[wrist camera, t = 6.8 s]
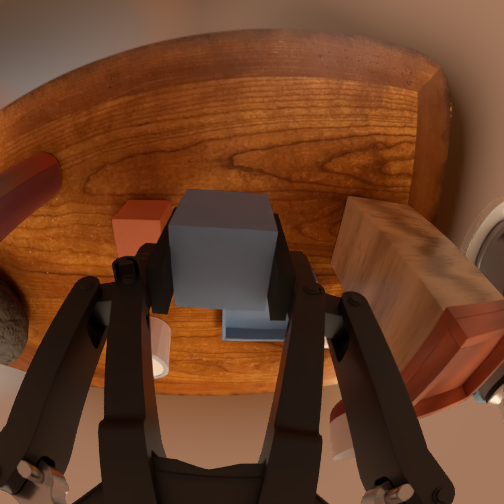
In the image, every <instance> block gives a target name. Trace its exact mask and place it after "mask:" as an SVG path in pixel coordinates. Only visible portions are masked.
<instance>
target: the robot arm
mask: <svg viewBox="0 0 504 504" xmlns="http://www.w3.org/2000/svg"><path fill="white" fill-rule="evenodd" d="M176 209H177V207H175V208H174V210H173V212H172V214H171V216H170V218H169V220H168V221H167V223H166V225H165V227H164V229H163V231H162V233H161V235H160V237H159V239H158V241H157V243H145V244H144V245H142V246H141V247H140V248H139V249H138V251H137V254H136V255H135V257H134V256H123V257H120V258H118V259H116V260H115V261H114V262H113V264H112V268H113V273H114V277H115V282H111V283H104V284H100V282H99V279H98V278H96V277H93V276H87V277H83V278H81V279H80V280H78V281H77V282H76V283H75V285H74V287H73V288H72V290H71V291H70V293H69V294H68V296H67V298H66V299H65V301H64V303H63V304H62V306H61V308H60V309H59V311H58V313H57V314H56V316H55V318H54V320H53V321H52V323H51V325H50V327H49V329H48V330H47V332H46V334H45V336H44V338H43V340H42V342H41V344H40V346H39V348H38V350H37V352H36V354H35V356H34V358H33V360H32V362H31V364H30V366H29V368H28V370H27V373H26V375H25V377H24V380H23V382H22V384H21V386H20V389H19V391H18V394H17V396H16V399H15V401H14V404H13V407H12V409H11V412H10V415H9V418H8V421H7V424H6V426H5V427H4V428H3V429H2V431H1V432H0V489H1V490H3V491H5V492H8V493H9V494H11V495H12V496H13V497H14V498H15V499H16V500H17V501H18V502H19V503H20V504H66V501H65V494H66V493H68V491H69V486H68V484H67V482H66V479H65V477H64V476H63V475H64V473H65V471H66V468H67V466H68V463H69V460H70V457H71V453H72V450H73V445H74V441H75V437H76V433H77V428H78V425H79V421H80V417H81V414H82V410H83V406H84V403H85V400H86V397H87V393H88V390H89V387H90V384H91V381H92V378H93V375H94V372H95V369H96V366H97V363H98V361H99V358H100V355H101V352H102V350H103V347H104V344H105V342H106V339H107V349H106V363H105V385H104V419H103V420H102V421H100V423H99V428H98V438H99V455H100V467H101V476H102V482H101V483H99V484H98V485H97V486H95V487H94V488H93V489H91V490H90V491H89V492H87V493H86V494H85V495H83V496H82V497H81V498H79V499H78V500H76V501H75V502H74V503H72V504H328V502H326V501H325V500H324V499H323V498H321V497H320V496H319V495H318V494H317V493H316V490H317V483H318V476H319V468H320V461H321V452H322V436H321V435H320V434H319V422H320V411H321V398H322V384H323V367H324V342H325V337H326V339H327V343H328V346H329V350H330V354H331V357H332V361H333V365H334V369H335V372H336V376H337V380H338V384H339V388H340V392H341V396H342V400H343V404H344V408H345V412H346V416H347V421H348V425H349V429H350V434H351V438H352V443H353V448H354V452H355V457H356V462H357V467H358V471H359V475H360V479H361V481H362V483H363V486H364V488H365V490H366V493H365V494H364V496H363V498H362V500H361V504H451V503H452V502H453V499H454V496H455V488H454V486H453V484H452V482H451V481H450V479H449V478H448V476H447V475H446V474H445V472H444V471H443V469H442V468H441V467H440V465H439V464H438V463H437V461H436V460H435V458H434V457H433V456H432V454H431V453H430V452H429V450H428V449H427V445H426V442H425V439H424V436H423V433H422V430H421V427H420V424H419V421H418V418H417V415H416V413H415V410H414V407H413V404H412V402H411V399H410V397H409V394H408V391H407V389H406V386H405V384H404V381H403V379H402V376H401V374H400V371H399V369H398V367H397V364H396V362H395V359H394V357H393V355H392V353H391V350H390V348H389V346H388V343H387V341H386V339H385V337H384V335H383V332H382V330H381V328H380V326H379V324H378V322H377V320H376V318H375V315H374V313H373V311H372V309H371V307H370V305H369V303H368V301H367V299H366V298H365V297H364V296H363V295H361V294H360V293H357V292H354V291H347V292H345V293H343V294H342V296H341V298H340V297H336V296H332V295H329V294H326V293H325V290H324V288H323V287H322V286H321V285H320V284H318V283H316V281H315V278H314V275H313V272H312V270H311V267H310V264H309V261H308V259H307V257H306V256H305V255H304V254H303V253H302V252H299V251H289V249H288V246H287V242H286V239H285V236H284V232H283V229H282V226H281V222H280V219H279V216H278V214H276V213H273V215H274V218H275V222H276V226H277V230H278V236H277V242H276V248H275V253H274V259H273V265H272V271H271V277H270V283H269V288H268V294H267V299H268V307H269V316H270V321H286V317H287V313H288V319H289V320H288V324H287V328H286V331H285V335H284V337H285V340H284V346H283V351H282V357H281V362H280V368H279V373H278V378H277V383H276V388H275V393H274V398H273V403H272V408H271V412H270V417H269V422H268V426H267V431H266V435H265V440H264V444H263V448H262V452H261V455H260V458H259V461H258V464H237V465H232V466H227V467H222V468H216V469H209V470H208V469H203V468H200V467H197V466H194V465H191V464H188V463H185V462H182V461H179V460H177V459H169V458H166V454H165V451H164V448H163V444H162V440H161V434H160V427H159V421H158V413H157V406H156V396H155V387H154V376H153V364H152V349H151V327H150V315H149V310H150V307H152V312H153V313H158V314H168V310H169V306H170V303H171V299H172V295H173V292H174V288H173V278H172V266H171V253H170V246H169V231H168V225H169V223H170V221H171V219H172V217H173V215H174V213H175V211H176ZM475 266H476V267H477V268H478V269H479V270H480V271H481V272H482V273H483V274H484V275H485V277H486V278H487V279H488V280H489V281H490V282H491V283H492V284H493V286H494V287H495V288H496V289H497V290H498V291H499V292H500V294H501V295H502V296H503V297H504V219H503V220H501V221H499V222H498V223H497V224H496V225H495V226H494V227H493V228H492V229H491V231H490V232H489V233H488V235H487V236H486V238H485V239H484V241H483V243H482V245H481V247H480V249H479V251H478V254H477V257H476V261H475ZM473 397H474V398H475V399H476V400H477V401H478V402H481V403H482V402H486V403H487V405H488V406H489V407H495V408H498V410H499V413H500V415H501V418H502V420H503V423H504V362H503V363H502V364H501V365H500V366H499V367H498V369H497V370H496V371H495V372H494V373H493V374H492V375H491V376H490V377H489V378H488V380H487V381H486V382H485V383H484V384H483V385H482V386H481V387H480V388H479V389H478V390H477V391H476V392H475V393H474V394H473Z"/></svg>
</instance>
